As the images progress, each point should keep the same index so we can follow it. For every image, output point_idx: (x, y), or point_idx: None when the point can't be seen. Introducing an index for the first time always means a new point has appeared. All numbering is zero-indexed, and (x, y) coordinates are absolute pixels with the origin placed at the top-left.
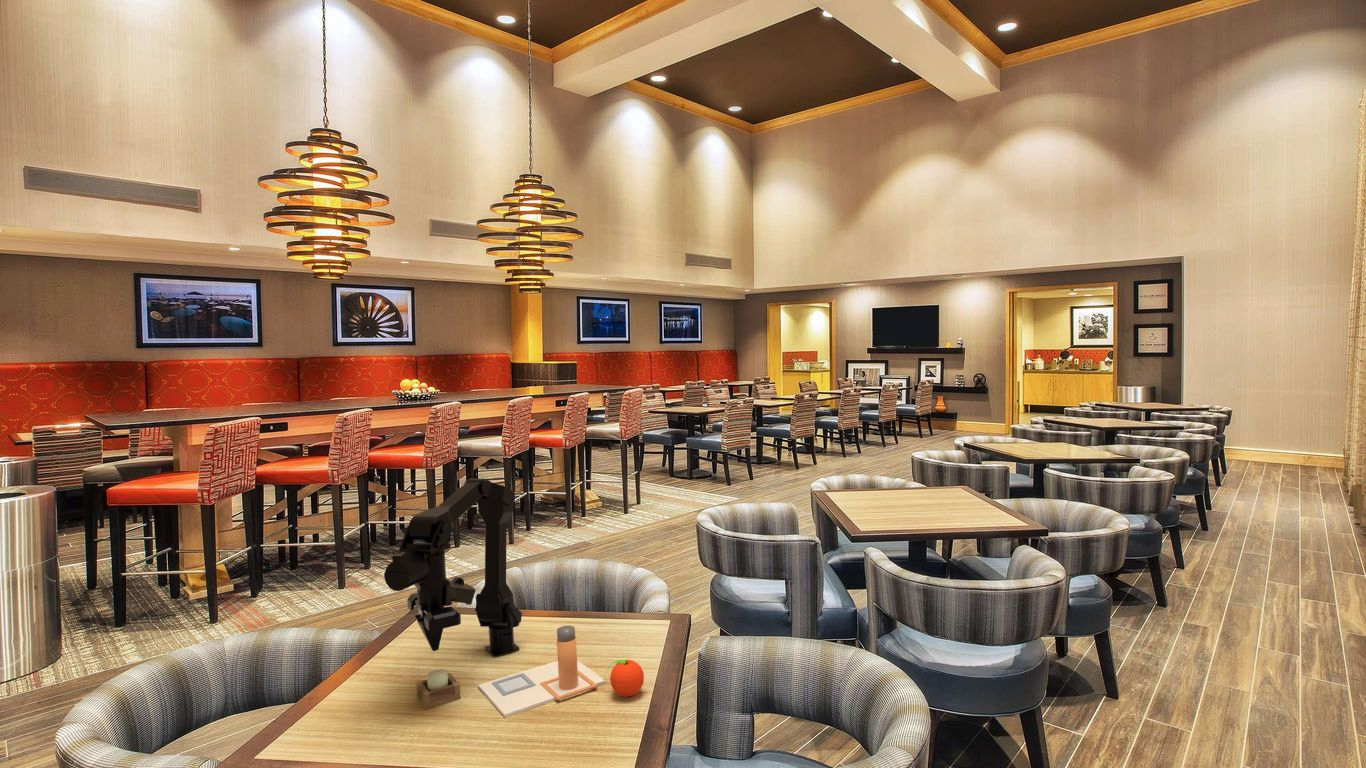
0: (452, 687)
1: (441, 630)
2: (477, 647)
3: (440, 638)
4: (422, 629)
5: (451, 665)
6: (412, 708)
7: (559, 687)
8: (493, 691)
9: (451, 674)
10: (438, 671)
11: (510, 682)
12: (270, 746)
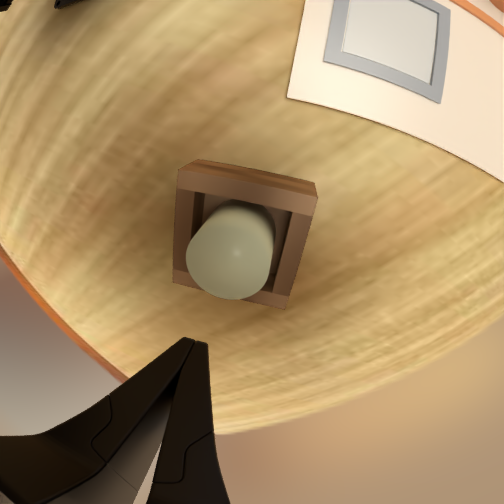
0: (310, 224)
1: (220, 477)
2: (38, 27)
3: (210, 407)
4: (140, 484)
5: (70, 105)
6: None
7: (497, 7)
8: (384, 96)
9: (198, 173)
10: (209, 251)
11: (370, 23)
12: None
